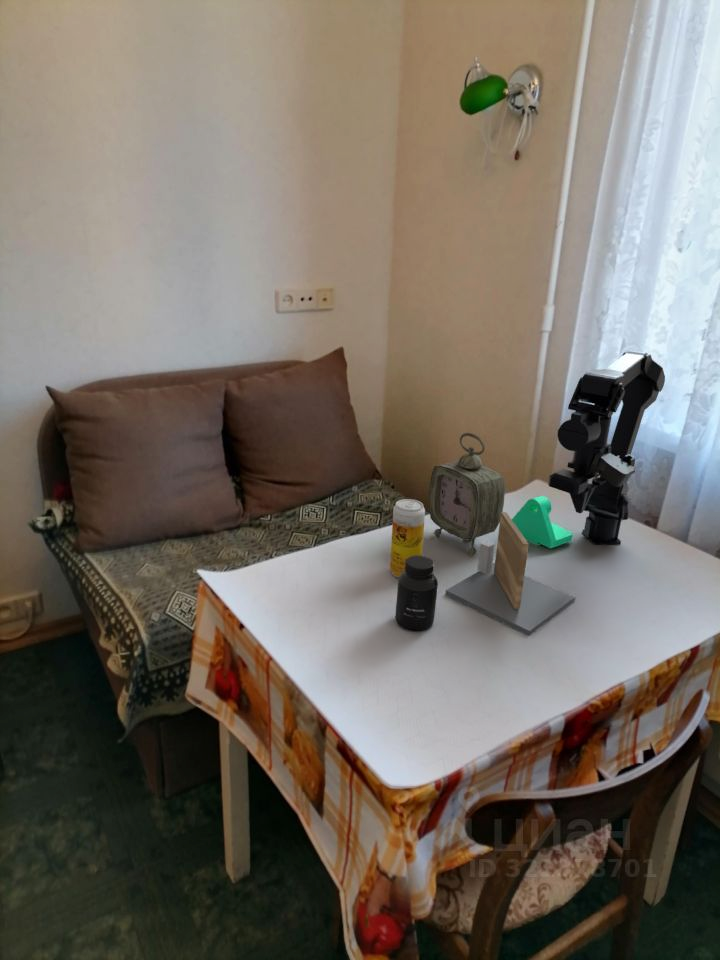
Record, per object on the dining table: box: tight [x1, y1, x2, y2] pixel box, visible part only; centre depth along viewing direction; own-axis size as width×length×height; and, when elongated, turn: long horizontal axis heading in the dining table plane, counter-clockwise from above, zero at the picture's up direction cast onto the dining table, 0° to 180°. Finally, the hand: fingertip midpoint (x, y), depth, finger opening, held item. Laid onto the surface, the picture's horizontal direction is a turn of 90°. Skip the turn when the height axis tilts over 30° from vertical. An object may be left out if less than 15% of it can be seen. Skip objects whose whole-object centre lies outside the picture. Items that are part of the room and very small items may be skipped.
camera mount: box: [511, 495, 574, 549], centre depth 148 cm, size 12×8×10 cm, turn 34°
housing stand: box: [445, 540, 576, 637], centre depth 124 cm, size 16×18×7 cm
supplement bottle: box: [395, 555, 439, 633], centre depth 115 cm, size 7×7×12 cm
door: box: [494, 511, 530, 609], centre depth 123 cm, size 1×13×13 cm, turn 5°
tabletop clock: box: [428, 432, 506, 556], centre depth 142 cm, size 14×9×25 cm, turn 36°
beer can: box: [389, 498, 426, 579], centre depth 130 cm, size 6×6×15 cm
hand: (579, 512), depth 134 cm, fingers closed
